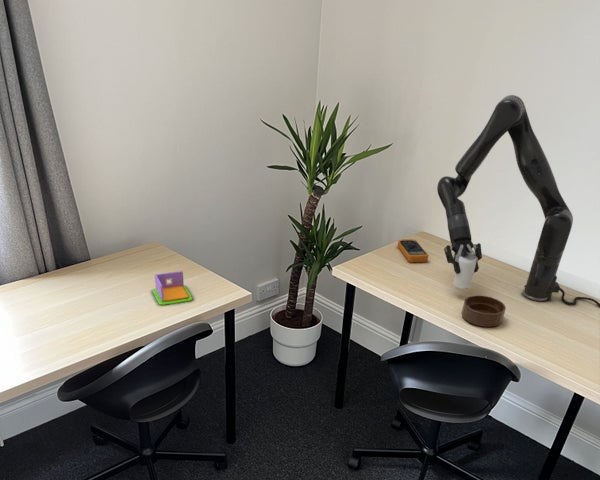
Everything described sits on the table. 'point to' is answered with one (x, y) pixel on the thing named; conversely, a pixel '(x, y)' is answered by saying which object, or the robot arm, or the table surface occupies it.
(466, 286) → the can
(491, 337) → the table surface
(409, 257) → the multimeter
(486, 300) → the bowl
